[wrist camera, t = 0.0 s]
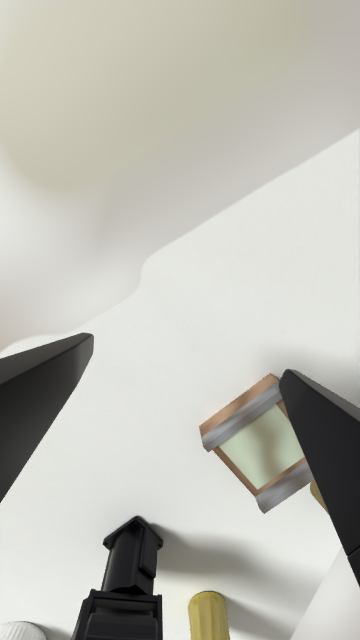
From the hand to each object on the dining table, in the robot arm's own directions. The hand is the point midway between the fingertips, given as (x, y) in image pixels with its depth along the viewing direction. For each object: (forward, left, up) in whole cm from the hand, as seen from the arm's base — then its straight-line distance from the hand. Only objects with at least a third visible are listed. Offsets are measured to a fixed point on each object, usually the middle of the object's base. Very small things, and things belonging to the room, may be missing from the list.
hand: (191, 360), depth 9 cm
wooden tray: (-1, -20, -15) cm, 26 cm away
